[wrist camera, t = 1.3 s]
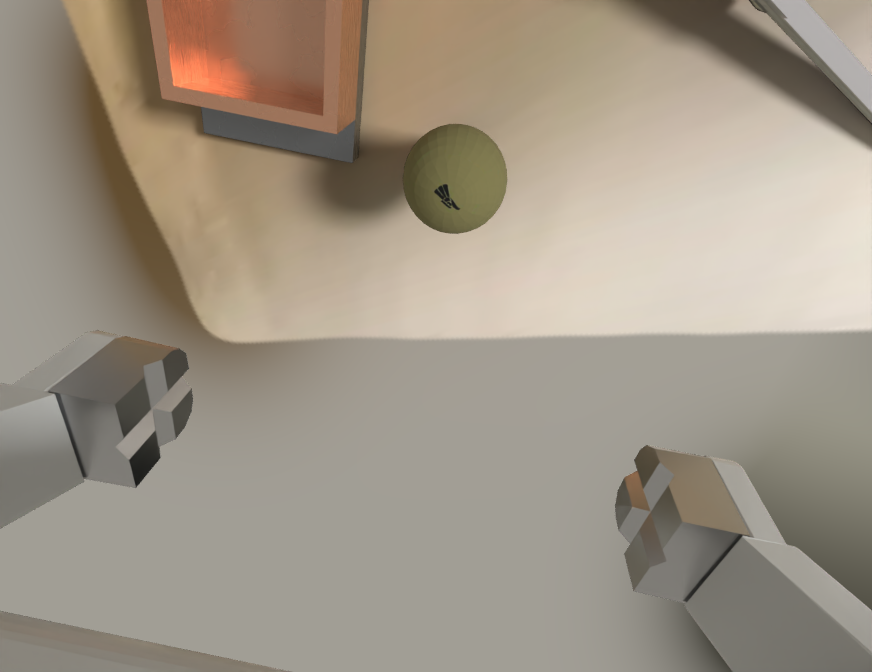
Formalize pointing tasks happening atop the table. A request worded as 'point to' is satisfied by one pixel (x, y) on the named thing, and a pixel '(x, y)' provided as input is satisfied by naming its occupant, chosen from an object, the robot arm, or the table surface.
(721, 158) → the table surface
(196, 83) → the desk organizer
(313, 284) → the table surface
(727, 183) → the table surface
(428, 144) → the light bulb
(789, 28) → the caliper
